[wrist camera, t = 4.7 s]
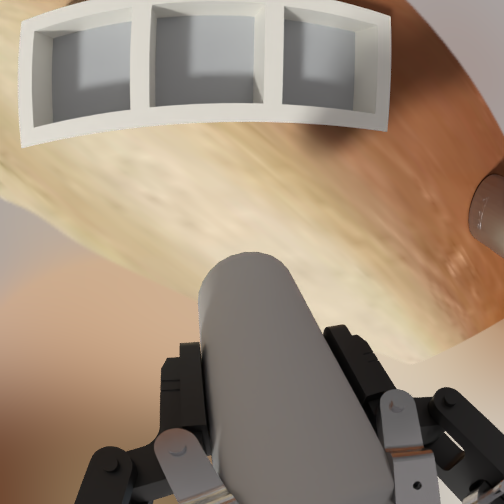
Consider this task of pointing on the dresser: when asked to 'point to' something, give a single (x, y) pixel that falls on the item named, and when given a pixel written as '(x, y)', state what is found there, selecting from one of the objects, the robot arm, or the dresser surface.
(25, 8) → the dresser surface
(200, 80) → the can caddy
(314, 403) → the beverage can
